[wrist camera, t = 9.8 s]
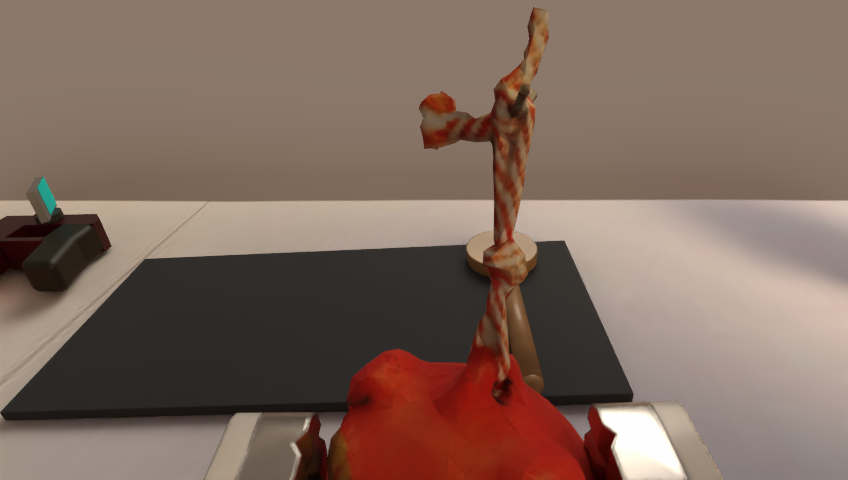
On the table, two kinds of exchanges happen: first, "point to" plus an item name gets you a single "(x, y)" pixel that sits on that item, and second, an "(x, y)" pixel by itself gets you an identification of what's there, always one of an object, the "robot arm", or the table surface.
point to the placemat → (306, 332)
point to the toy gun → (49, 241)
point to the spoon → (513, 306)
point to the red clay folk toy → (489, 355)
